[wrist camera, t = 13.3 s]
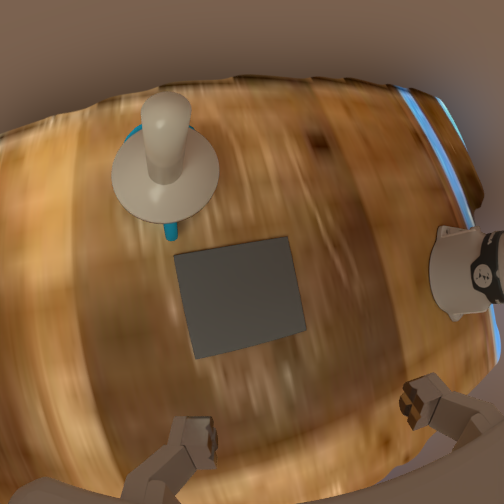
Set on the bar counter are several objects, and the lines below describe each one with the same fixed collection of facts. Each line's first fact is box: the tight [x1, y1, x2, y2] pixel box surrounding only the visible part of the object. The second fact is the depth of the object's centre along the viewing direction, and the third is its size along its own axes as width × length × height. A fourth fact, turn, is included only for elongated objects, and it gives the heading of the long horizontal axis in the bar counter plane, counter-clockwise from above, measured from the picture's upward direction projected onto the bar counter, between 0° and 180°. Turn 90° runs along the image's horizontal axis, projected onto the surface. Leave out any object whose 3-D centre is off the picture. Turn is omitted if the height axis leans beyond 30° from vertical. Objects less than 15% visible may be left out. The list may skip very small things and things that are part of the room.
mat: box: [174, 237, 306, 359], centre depth 33 cm, size 14×12×1 cm
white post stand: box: [111, 92, 219, 224], centre depth 20 cm, size 10×10×10 cm
